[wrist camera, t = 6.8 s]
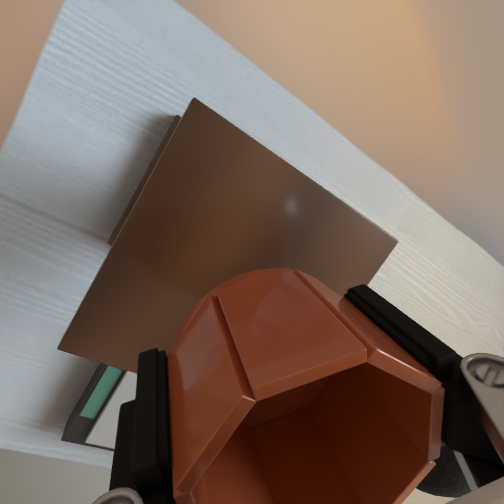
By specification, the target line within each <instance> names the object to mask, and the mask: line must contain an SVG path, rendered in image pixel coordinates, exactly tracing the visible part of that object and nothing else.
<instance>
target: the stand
mask: <svg viewBox="0 0 504 504" xmlns="http://www.w3.org/2000/svg"><path fill="white" fill-rule="evenodd" d="M397 243H398V240H397V239H396V238H394V237H393V236H391V235H390V234H389V233H387V232H386V231H384V230H383V229H381V228H380V227H379V226H377V225H376V224H374V223H373V222H371V221H370V220H369V219H367V218H366V217H364V216H363V215H362V214H360V213H359V212H357V211H356V210H354V209H353V208H352V207H350V206H349V205H347V204H346V203H344V202H343V201H342V200H340V199H339V198H337V197H336V196H334V195H333V194H332V193H330V192H329V191H327V190H326V189H324V188H323V187H322V186H320V185H319V184H317V183H316V182H314V181H313V180H312V179H310V178H309V177H307V176H306V175H304V174H303V173H302V172H300V171H299V170H297V169H296V168H295V167H293V166H292V165H290V164H289V163H287V162H286V161H285V160H283V159H282V158H280V157H279V156H277V155H276V154H275V153H273V152H272V151H270V150H269V149H267V148H266V147H265V146H263V145H262V144H260V143H259V142H257V141H256V140H255V139H253V138H252V137H250V136H249V135H247V134H246V133H245V132H243V131H242V130H240V129H239V128H238V127H236V126H235V125H233V124H232V123H230V122H229V121H228V120H226V119H225V118H223V117H222V116H220V115H219V114H218V113H216V112H215V111H213V110H212V109H210V108H209V107H208V106H206V105H205V104H203V103H202V102H200V101H199V100H198V99H196V98H193V99H192V100H191V101H190V103H189V105H188V107H187V109H186V110H185V112H184V114H183V116H182V117H180V116H179V115H176V116H175V118H174V120H173V122H172V124H171V126H170V128H169V129H168V131H167V133H166V135H165V137H164V139H163V140H162V142H161V144H160V146H159V148H158V150H157V152H156V153H155V155H154V157H153V159H152V161H151V163H150V165H149V166H148V168H147V170H146V172H145V174H144V176H143V178H142V179H141V181H140V183H139V185H138V187H137V189H136V191H135V192H134V194H133V196H132V198H131V200H130V202H129V204H128V205H127V207H126V209H125V211H124V213H123V215H122V217H121V218H120V220H119V222H118V224H117V226H116V228H115V230H114V231H113V233H112V235H111V237H110V239H109V241H108V244H109V245H111V246H112V247H111V249H110V250H109V252H108V254H107V256H106V258H105V260H104V261H103V263H102V265H101V267H100V269H99V271H98V272H97V274H96V276H95V278H94V280H93V282H92V284H91V285H90V287H89V289H88V291H87V293H86V295H85V296H84V298H83V300H82V302H81V304H80V306H79V308H78V309H77V311H76V313H75V315H74V317H73V319H72V320H71V322H70V324H69V326H68V328H67V330H66V331H65V333H64V335H63V337H62V339H61V341H60V343H59V345H58V348H57V349H58V350H61V351H64V352H68V353H71V354H74V355H77V356H81V357H84V358H87V359H90V360H94V361H97V362H100V363H103V364H107V365H110V366H113V367H116V368H120V369H123V370H126V371H130V372H133V373H136V374H137V370H138V357H139V353H141V352H144V351H147V350H150V349H154V348H158V350H159V351H163V350H165V352H166V354H167V357H168V355H169V353H170V351H171V350H172V348H173V347H174V344H175V340H176V337H177V334H178V332H179V329H180V327H181V325H182V324H183V322H184V320H185V318H186V317H187V315H188V314H189V313H190V311H191V310H192V309H193V307H194V306H195V305H196V304H197V303H198V302H199V301H200V300H201V299H202V298H203V297H204V296H205V295H206V294H208V293H209V292H210V291H211V290H213V289H214V288H216V287H217V286H219V285H220V284H222V283H223V282H225V281H227V280H229V279H231V278H233V277H236V276H238V275H241V274H244V273H247V272H250V271H255V270H259V269H268V268H286V269H287V268H289V269H291V270H295V269H298V270H299V271H301V272H303V273H306V274H309V275H311V276H313V277H315V278H316V279H318V280H319V281H321V282H322V283H323V284H325V285H326V286H327V287H328V288H330V289H331V290H333V291H335V292H336V293H338V294H340V295H341V296H343V297H344V294H346V293H347V290H348V289H349V288H352V287H355V286H358V285H361V284H365V285H368V284H369V282H370V281H371V280H372V278H373V277H374V275H375V274H376V272H377V271H378V270H379V268H380V267H381V265H382V264H383V263H384V261H385V260H386V258H387V257H388V256H389V254H390V253H391V251H392V250H393V249H394V247H395V246H396V244H397Z"/></svg>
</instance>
